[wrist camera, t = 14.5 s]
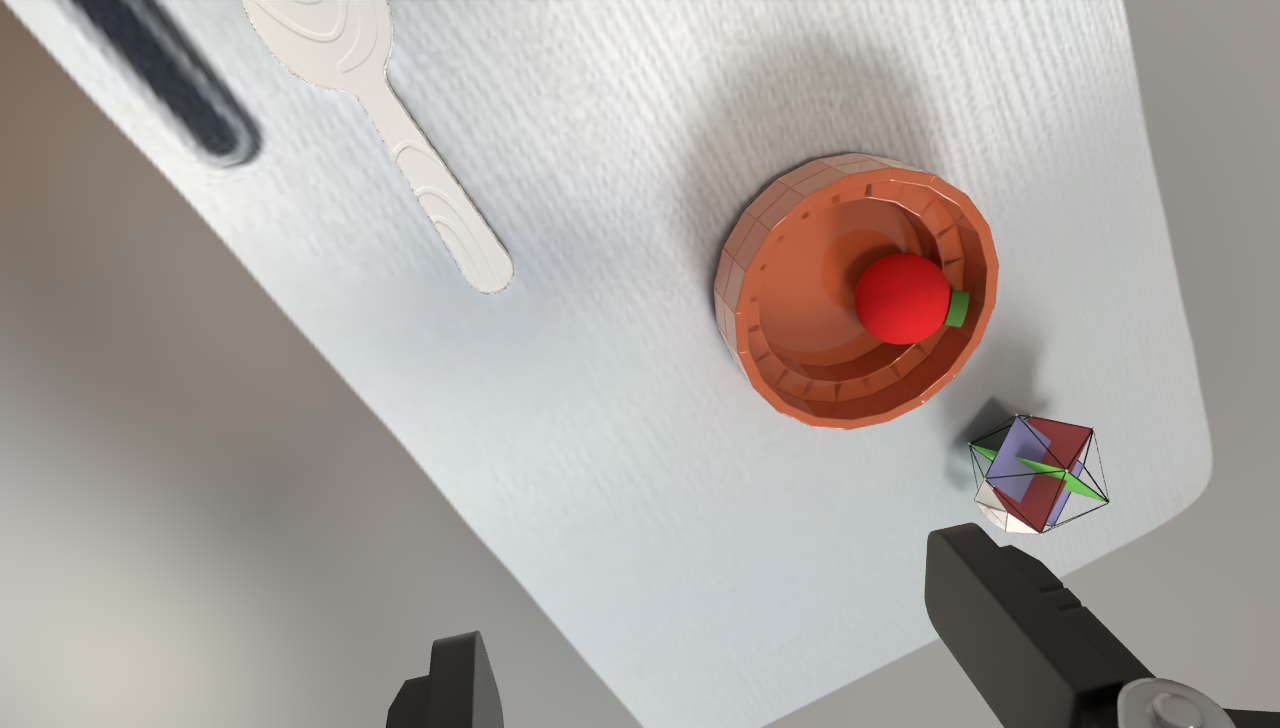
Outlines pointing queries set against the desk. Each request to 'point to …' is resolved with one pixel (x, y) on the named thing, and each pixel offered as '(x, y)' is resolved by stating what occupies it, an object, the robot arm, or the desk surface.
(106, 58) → the desk surface
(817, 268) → the bowl
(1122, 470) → the desk surface
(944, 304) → the tomato
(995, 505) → the geometric puzzle
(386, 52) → the spoon
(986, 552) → the robot arm
